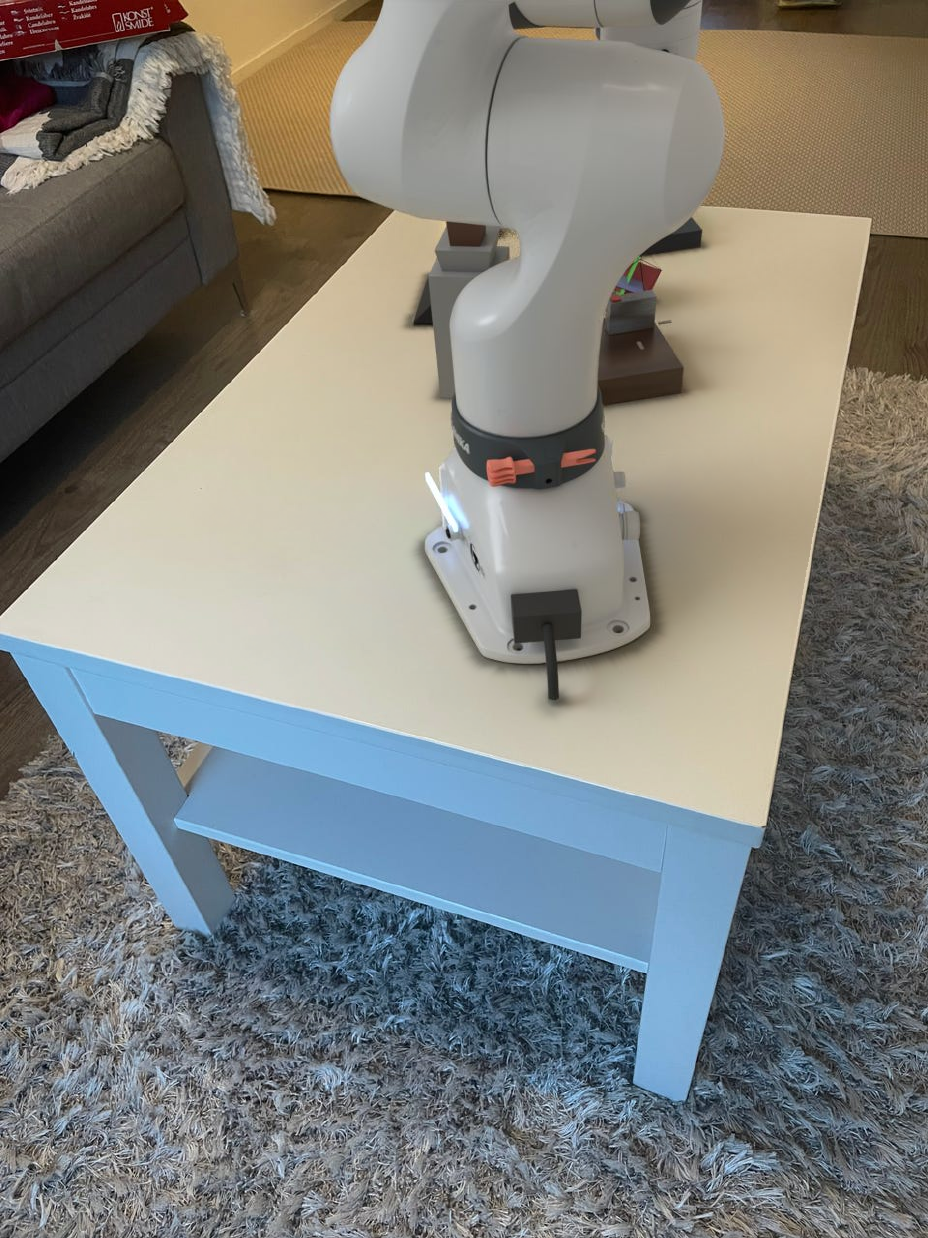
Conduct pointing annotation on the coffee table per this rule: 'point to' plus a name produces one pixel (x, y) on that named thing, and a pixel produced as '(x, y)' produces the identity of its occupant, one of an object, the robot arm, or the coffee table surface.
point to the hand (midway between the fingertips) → (641, 188)
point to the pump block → (678, 239)
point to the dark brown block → (637, 365)
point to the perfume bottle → (458, 283)
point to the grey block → (630, 312)
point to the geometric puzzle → (637, 278)
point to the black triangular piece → (424, 309)
